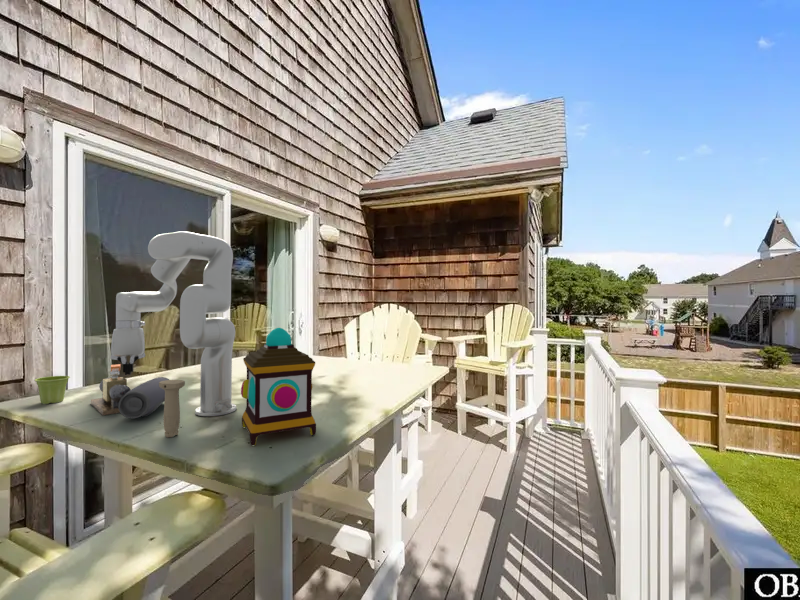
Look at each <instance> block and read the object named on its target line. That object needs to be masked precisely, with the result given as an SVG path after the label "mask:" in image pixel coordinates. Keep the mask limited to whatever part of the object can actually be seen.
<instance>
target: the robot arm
mask: <svg viewBox="0 0 800 600" xmlns="http://www.w3.org/2000/svg"><path fill="white" fill-rule="evenodd" d="M147 251H148V254H149V256H150V257H151V258H153V259H154V260H155V262H154V263H153V264H152V266H151V267H150V273H151V274H152V276H153V278H155V279H156V280H158V281H159V282H161V283H163V284H162V286H161V287H160V289H159V290H158V291H130V292H129V291H128V292H127V291H126V292H124V291H123V292H122V291H121V292H117V293H116V295H115V296H116V297H115V328H114V329H113V332H112V336H111V347H110V353H111V355H110V358H109V359H110V360H115V361H118V362H120V364H121V365H122V373H124V375H125V376H127V375H128V376H129V375H131V374H132V373H134V363H135V362H136V361H137V360H140V359H143V358H145V357H146V353H145V351H146V343H145V332H144V328H142V326H146V322H145V321H142V320H141V316H142V315H141V313H147V312H148V313H151V312H152V313H153V312H155V313H157V312H162V311H165V310H166V309H167V308H168V307H169V306H170V305H171V303H172V302H173V301H174V299H175V298H176V296H177V293H178V285H177V278H178V277H179V276H180V274H181V273H182V271H183V270H184V269H185V268H186V266H187V265H188V263H189V262H190V260H191V259H193V260H201V261H202V260H203V261H208V263H207V264H206V266H205V267H204V269H203V275H202V278H203V279H202V284H198V283H197V284H192V285H189V286H187V287H186V288H185V289H184V290H183V292H182V294H181V297H180V299H179V300H180V301H179V302H180V303H179V336H180V341H181V342H182V345H183V346H185V347H186V348H188V349H190V350H191V349H193V350H196V349H197V350H198V349H203V351H202V354H201V358H200V386H199V387H200V388H199V389H200V396H199V397H200V400H199V402H200V404H199V406H198V407H196V408H195V409H194V414H195V415H196V416H199V417H200V416H201V417H216V416H218V417H219V416H223V415H227V414H230V413H233V412H235V411H236V410H237V405H236V404H235V403H232V381H233V380H232V379H233V377H232V375H233V374H232V373H233V365H232V364H233V360H232V359H233V347H234V341H235V338H236V327H235V325H234V323H233V322H232V321H231V320H230V319H228V318H226V317H221V316H220V317H219V316H218V317H216V316H215V317H207V315H210V314H211V315H212V314H213V315H214V314H222V313H226V312H227V311H228V310H229V309H230V307H231V305H232V304H231V303H232V269H233V268H232V267H233V263H234V262H233V261H234V254H233V253H234V252H233V249H232V247H231V246H230V244H229V242H227V241H226V240H224V239H222V238H219V237H216V236H212V235H207V234H200V233H195V232H191V231H183V230H182V231H175V232H168V233H167V232H166V233H161V234H157V235H156V236H154V237H152V238H151V240H150V241H149V243H148V246H147ZM127 357H130V358H129V361H128V360H127Z"/></svg>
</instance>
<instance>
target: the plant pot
mask: <svg viewBox="0 0 800 600" xmlns="http://www.w3.org/2000/svg"><path fill="white" fill-rule="evenodd" d="M70 378H71V377H70V375H54V376H53V375H51V376H50V375H49V376H44V377H38V378H36V379H34V381H35V382H36V385H37V387H38V393H39V401H40V403H41V404H42V405H43V404H44V405H45V404H46V405H47V404H48V405H49V404H51V403H52V404H57V403H61V402H63V401H64V398H65V395H66V389H67V383H68V382H69V379H70Z"/></svg>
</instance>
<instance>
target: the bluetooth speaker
mask: <svg viewBox="0 0 800 600" xmlns="http://www.w3.org/2000/svg"><path fill="white" fill-rule="evenodd" d="M165 380H170V378H168V377H164V376H159V377H154V378H152V379H149V380H147V381H145V382H142V383H140V384H139V385H137V386H135V387H134V388H132V389H131V390H130V391H129V392H127V393H126V394H125V395H124V396H123V397H122V398H121V399H120V401H119V404H118V409H119V411H120V414H121V415H122V416H123V417H125V418H127V419H137V418H141V416H142V417H147V416H149V415H151V414H153V413H154V412H156V410H157V409H158V408H159V407H160V406H161V405H162V404H163V403H165V390H164V389H162V388H160V387H159V382H161V381H165ZM153 411H154V412H153Z"/></svg>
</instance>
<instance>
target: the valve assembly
mask: <svg viewBox="0 0 800 600" xmlns="http://www.w3.org/2000/svg"><path fill="white" fill-rule="evenodd" d="M127 383H128V380H127V378H126V377H124V376H119V375H116V376H111V377H106V378H103V379H102V380H101V381H100V383H99V386H98V387H99V391H101V392H102V394H101V396H102V397H99V398H93V399H90V404H91V405H92V407H94V409H96V410H97V411H98V413H99V414H101V416H107V415H115V414H119V413H120V411H119V409H118V404H119V401H120V399H121V398H122V397H123V396H124V395H125V394H126V393H127V392H129V391H130V390H132V389H131V388H130V387H129V386H128V384H127ZM120 414H121V413H120Z"/></svg>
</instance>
